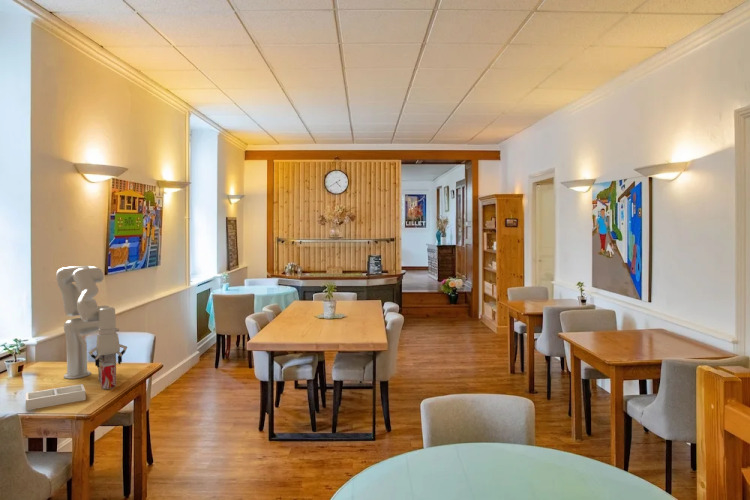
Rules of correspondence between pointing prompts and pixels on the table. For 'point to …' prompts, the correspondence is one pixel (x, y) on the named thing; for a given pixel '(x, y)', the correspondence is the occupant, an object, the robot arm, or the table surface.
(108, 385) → the soda can
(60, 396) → the divided tray
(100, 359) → the coffee box
